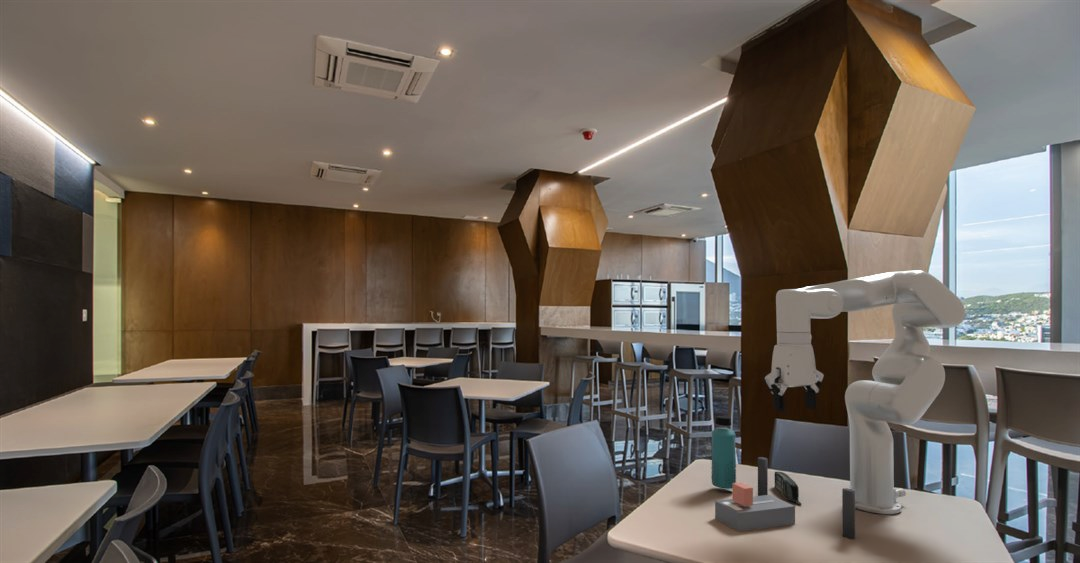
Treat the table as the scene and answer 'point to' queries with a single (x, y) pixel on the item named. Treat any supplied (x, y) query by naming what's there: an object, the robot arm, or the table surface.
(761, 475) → the post
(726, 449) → the beverage bottle
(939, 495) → the table surface
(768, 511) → the box
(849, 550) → the table surface
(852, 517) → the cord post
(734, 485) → the switch
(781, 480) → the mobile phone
